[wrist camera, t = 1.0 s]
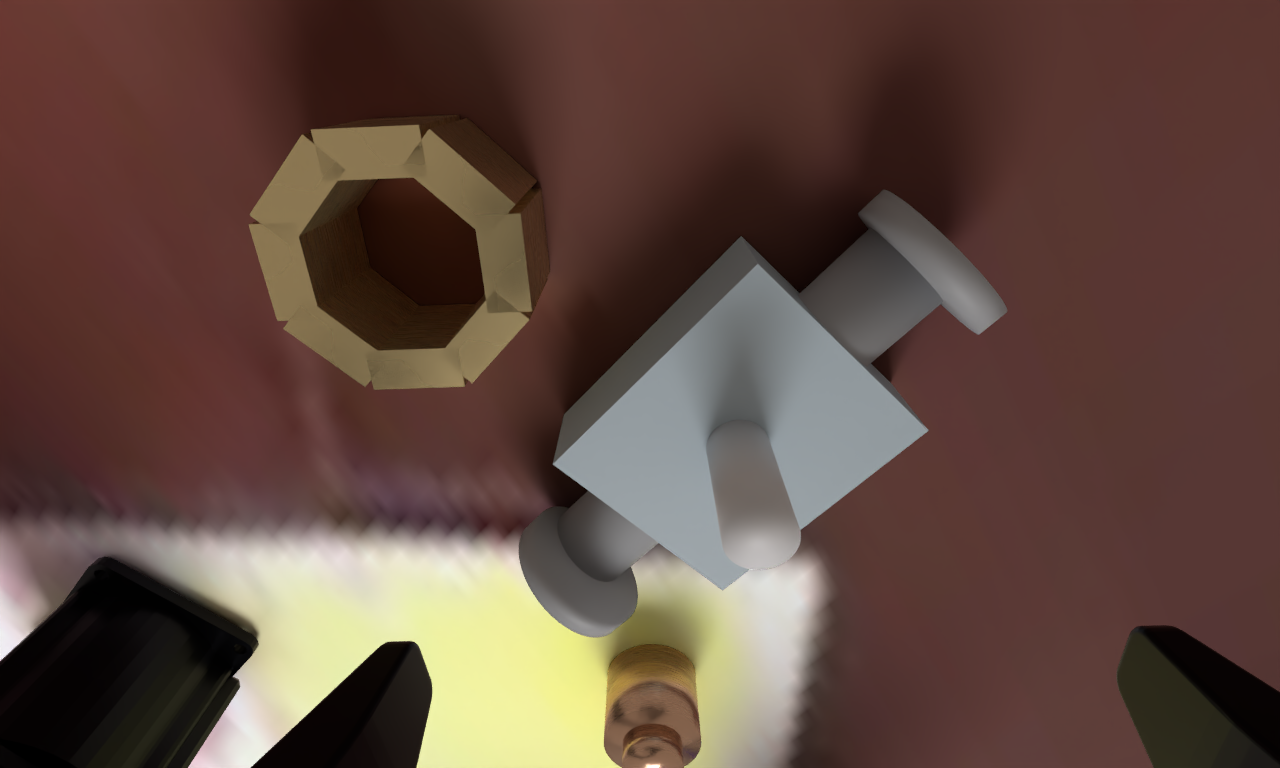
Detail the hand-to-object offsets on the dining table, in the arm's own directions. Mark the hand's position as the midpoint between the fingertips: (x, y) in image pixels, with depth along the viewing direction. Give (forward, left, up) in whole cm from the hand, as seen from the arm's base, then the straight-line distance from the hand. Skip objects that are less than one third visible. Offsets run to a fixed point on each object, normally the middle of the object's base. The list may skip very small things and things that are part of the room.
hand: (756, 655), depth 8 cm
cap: (+10, -12, -13) cm, 20 cm away
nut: (-7, -3, -13) cm, 15 cm away
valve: (+3, -1, -13) cm, 13 cm away
